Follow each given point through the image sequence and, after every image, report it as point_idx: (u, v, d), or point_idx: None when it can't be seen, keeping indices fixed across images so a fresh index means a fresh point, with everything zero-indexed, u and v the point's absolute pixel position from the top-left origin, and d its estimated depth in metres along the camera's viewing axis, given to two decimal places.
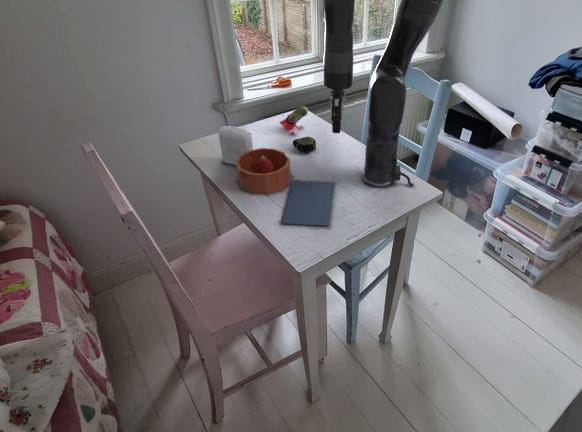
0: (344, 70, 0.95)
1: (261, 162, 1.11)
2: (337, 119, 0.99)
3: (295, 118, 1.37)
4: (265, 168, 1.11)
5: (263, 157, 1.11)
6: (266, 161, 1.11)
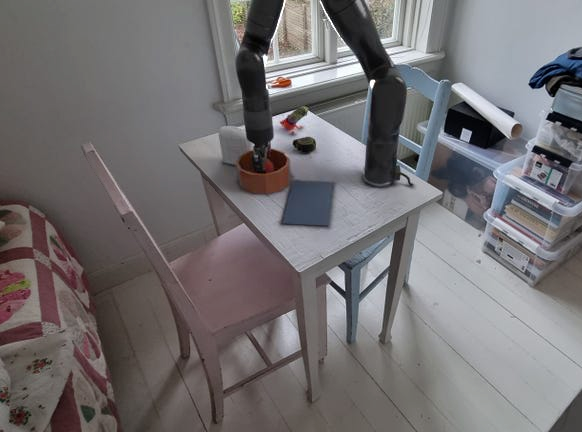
0: (262, 127, 1.02)
1: None
2: (259, 170, 1.07)
3: (295, 118, 1.37)
4: (265, 168, 1.11)
5: None
6: None
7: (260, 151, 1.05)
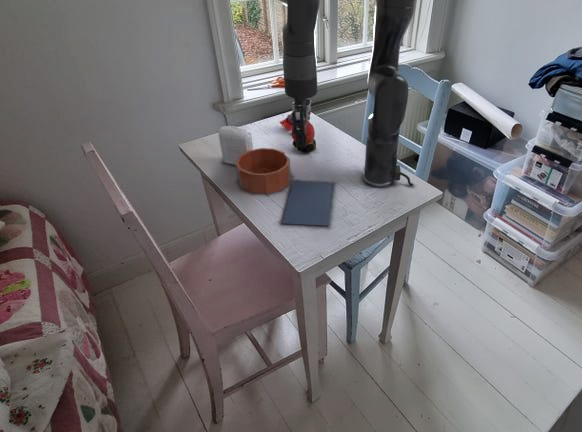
0: (305, 77, 0.84)
1: None
2: (300, 132, 0.89)
3: None
4: None
5: None
6: None
7: (302, 108, 0.87)
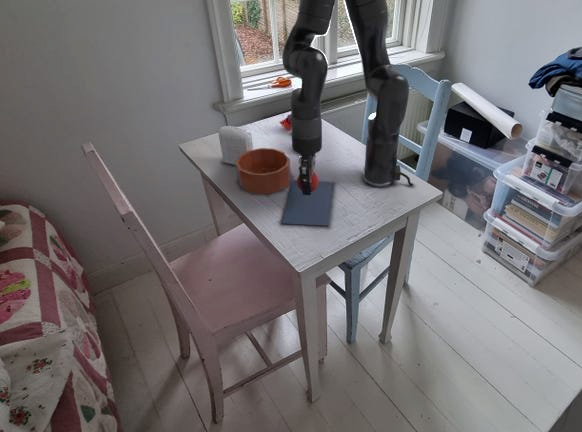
0: (311, 136, 0.92)
1: None
2: (306, 184, 0.97)
3: None
4: None
5: None
6: None
7: (308, 163, 0.95)
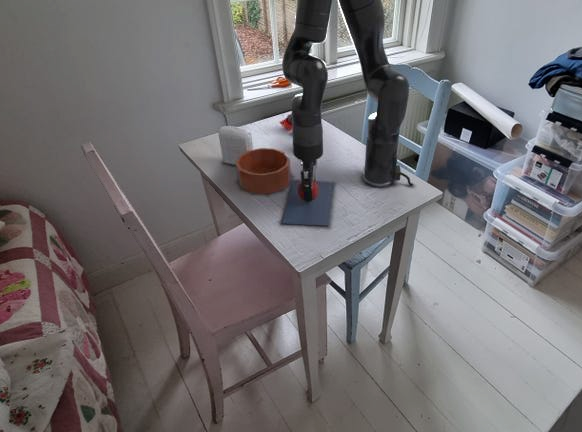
0: (313, 143, 0.92)
1: (306, 184, 1.03)
2: (307, 190, 0.97)
3: None
4: None
5: None
6: None
7: (309, 169, 0.96)
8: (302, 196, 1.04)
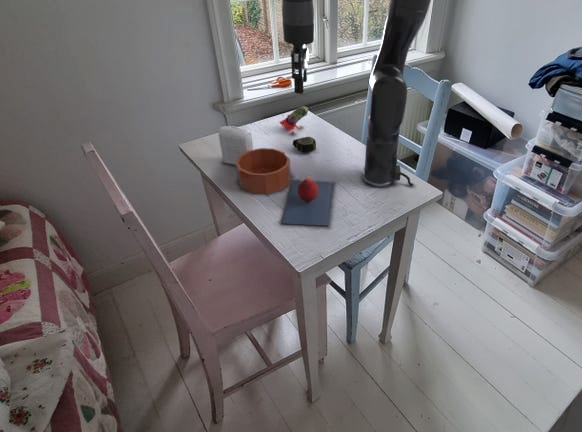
0: (303, 22, 0.89)
1: (306, 184, 1.03)
2: (298, 76, 0.93)
3: (295, 118, 1.37)
4: (310, 190, 1.03)
5: (308, 178, 1.03)
6: (311, 183, 1.03)
7: None
8: (302, 196, 1.04)
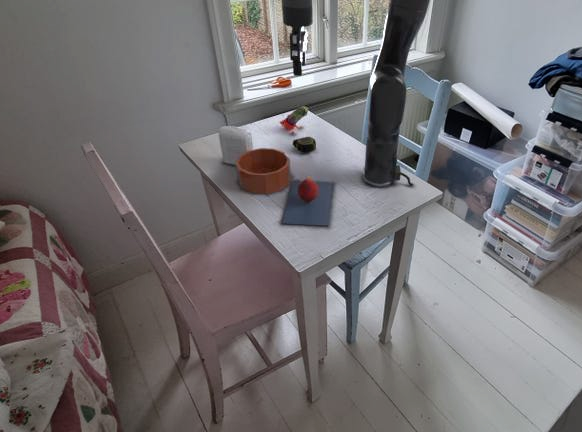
0: (302, 4, 0.92)
1: (306, 184, 1.03)
2: (296, 58, 0.96)
3: (295, 118, 1.37)
4: (310, 190, 1.03)
5: (308, 178, 1.03)
6: (311, 183, 1.03)
7: None
8: (302, 196, 1.04)
